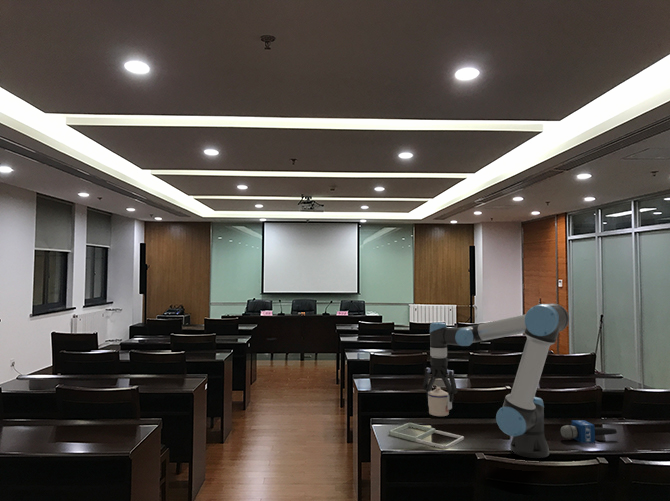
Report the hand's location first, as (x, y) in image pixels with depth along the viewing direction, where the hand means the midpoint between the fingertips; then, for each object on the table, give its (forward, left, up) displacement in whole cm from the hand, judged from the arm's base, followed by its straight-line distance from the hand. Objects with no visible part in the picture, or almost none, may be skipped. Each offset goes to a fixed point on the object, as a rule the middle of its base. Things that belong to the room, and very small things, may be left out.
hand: (440, 407), depth 219 cm
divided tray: (+7, 0, -15) cm, 16 cm away
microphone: (-50, -46, -15) cm, 70 cm away
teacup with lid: (+1, 0, -3) cm, 3 cm away
